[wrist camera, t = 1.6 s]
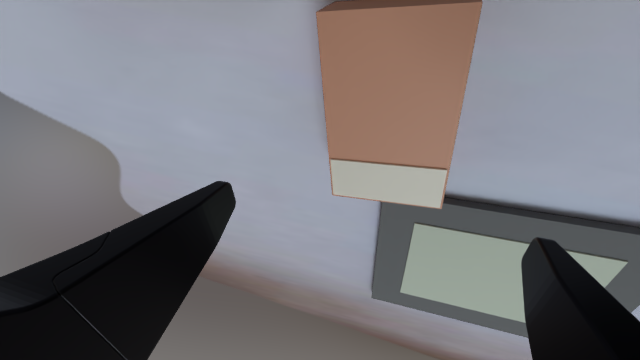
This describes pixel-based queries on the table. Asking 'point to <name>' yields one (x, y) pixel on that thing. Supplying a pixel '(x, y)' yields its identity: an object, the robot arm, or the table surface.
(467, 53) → the block
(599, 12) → the table surface
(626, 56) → the table surface
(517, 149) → the table surface
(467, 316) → the mat
